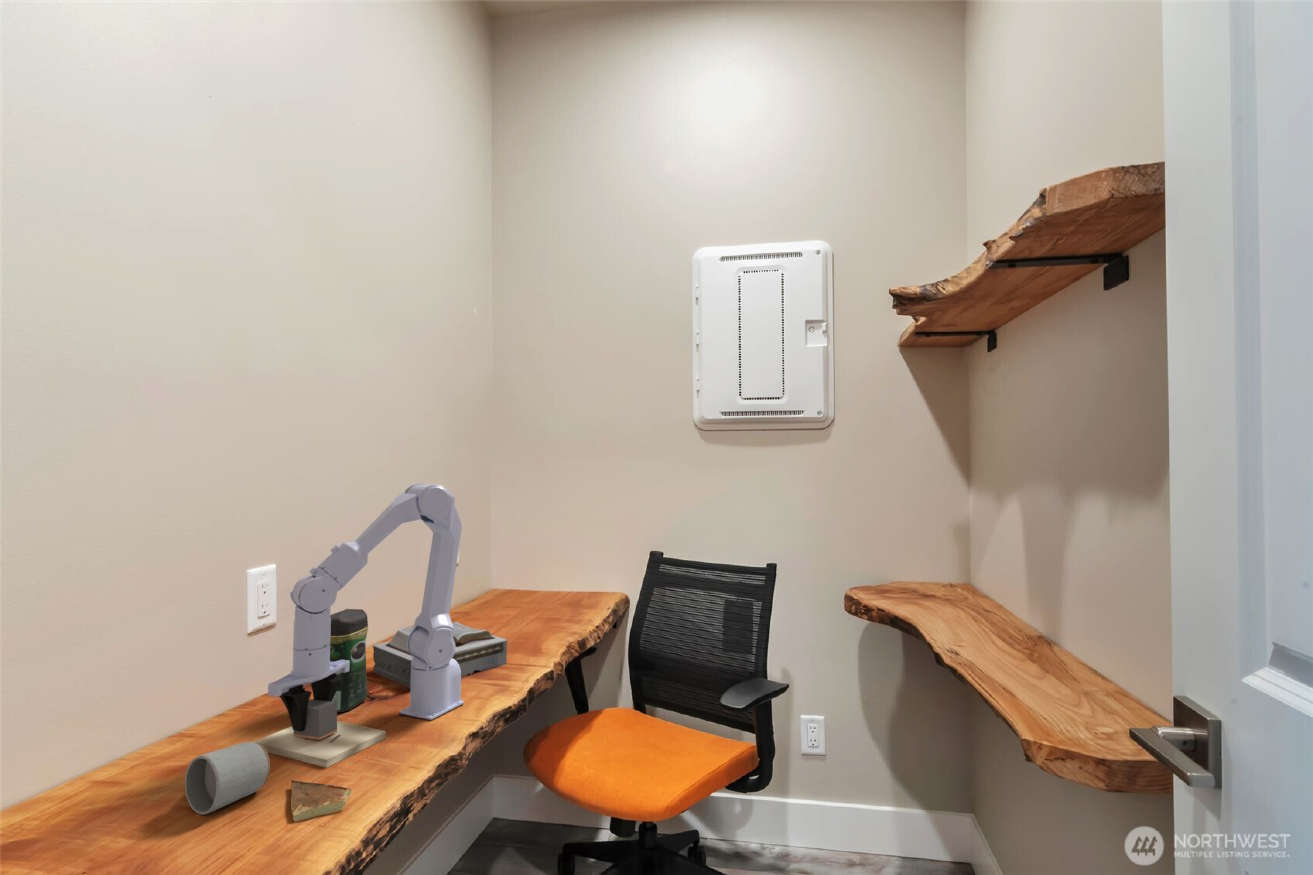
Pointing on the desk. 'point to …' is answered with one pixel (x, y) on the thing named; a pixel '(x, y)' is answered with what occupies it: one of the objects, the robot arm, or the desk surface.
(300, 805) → the shard
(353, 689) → the coffee jar
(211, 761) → the ceramic mug
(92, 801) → the desk surface
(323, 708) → the block
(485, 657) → the bible
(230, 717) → the desk surface
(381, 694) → the desk surface
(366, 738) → the cream flat board
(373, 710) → the desk surface
